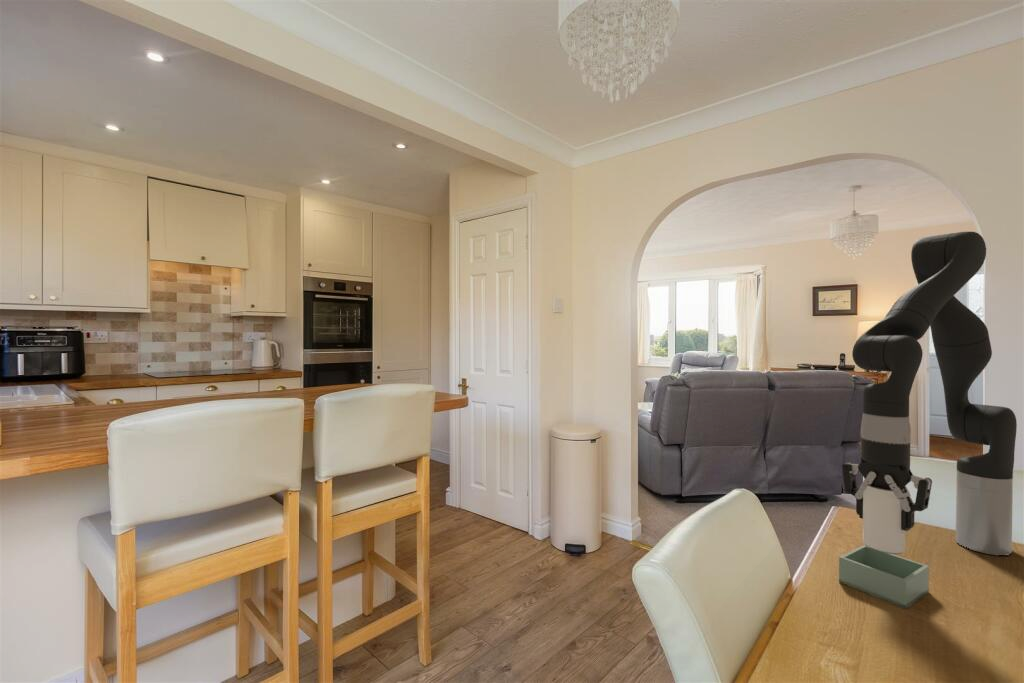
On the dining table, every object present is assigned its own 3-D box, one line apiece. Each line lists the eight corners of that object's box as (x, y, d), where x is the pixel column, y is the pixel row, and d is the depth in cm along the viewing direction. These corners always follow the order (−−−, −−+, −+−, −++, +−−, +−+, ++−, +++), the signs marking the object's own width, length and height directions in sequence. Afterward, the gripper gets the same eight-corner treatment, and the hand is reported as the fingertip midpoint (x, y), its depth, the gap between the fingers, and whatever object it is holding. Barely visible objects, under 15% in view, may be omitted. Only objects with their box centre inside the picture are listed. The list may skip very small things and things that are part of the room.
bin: (863, 568, 98) (863, 544, 98) (928, 592, 89) (928, 566, 89) (838, 582, 93) (839, 556, 93) (905, 608, 83) (906, 581, 83)
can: (913, 556, 87) (913, 492, 87) (873, 553, 88) (874, 489, 88) (892, 541, 93) (893, 482, 93) (855, 538, 95) (856, 479, 95)
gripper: (940, 442, 87) (939, 532, 87) (851, 429, 99) (850, 508, 99) (924, 447, 83) (923, 541, 83) (834, 433, 95) (833, 515, 95)
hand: (883, 523), depth 91 cm, fingers closed on can, 6 cm apart
